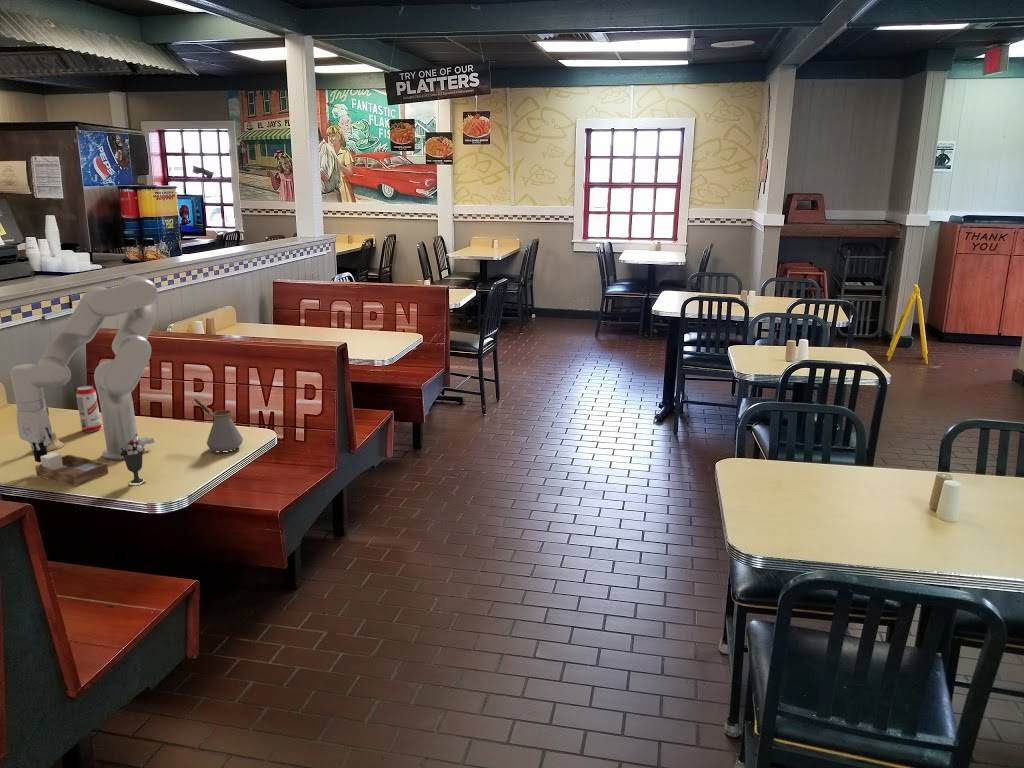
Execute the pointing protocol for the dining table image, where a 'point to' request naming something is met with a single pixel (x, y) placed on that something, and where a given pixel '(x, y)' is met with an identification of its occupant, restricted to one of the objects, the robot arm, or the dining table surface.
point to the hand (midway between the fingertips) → (41, 460)
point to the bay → (86, 467)
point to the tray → (73, 470)
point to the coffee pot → (222, 431)
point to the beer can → (88, 408)
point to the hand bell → (54, 440)
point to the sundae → (133, 458)
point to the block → (52, 461)
